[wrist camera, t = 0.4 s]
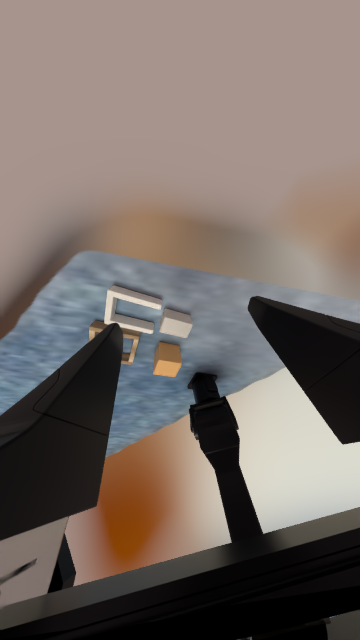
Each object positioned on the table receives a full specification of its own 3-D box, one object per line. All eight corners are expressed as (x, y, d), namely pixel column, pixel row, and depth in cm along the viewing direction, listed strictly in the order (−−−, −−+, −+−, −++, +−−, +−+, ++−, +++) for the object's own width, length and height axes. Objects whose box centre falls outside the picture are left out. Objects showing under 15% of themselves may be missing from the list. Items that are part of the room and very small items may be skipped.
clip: (153, 326, 25) (152, 334, 22) (109, 316, 22) (104, 323, 20) (161, 299, 22) (161, 305, 20) (113, 285, 20) (107, 289, 18)
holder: (133, 357, 28) (131, 364, 26) (93, 351, 26) (88, 358, 24) (141, 330, 25) (139, 336, 23) (95, 320, 23) (89, 326, 21)
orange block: (173, 358, 30) (174, 377, 25) (154, 354, 29) (152, 374, 24) (179, 345, 28) (182, 363, 24) (159, 341, 27) (158, 359, 22)
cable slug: (183, 327, 26) (186, 338, 23) (160, 321, 24) (159, 331, 21) (189, 315, 24) (193, 324, 21) (164, 307, 23) (164, 317, 20)
